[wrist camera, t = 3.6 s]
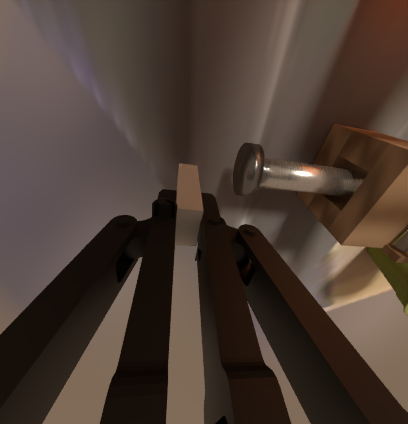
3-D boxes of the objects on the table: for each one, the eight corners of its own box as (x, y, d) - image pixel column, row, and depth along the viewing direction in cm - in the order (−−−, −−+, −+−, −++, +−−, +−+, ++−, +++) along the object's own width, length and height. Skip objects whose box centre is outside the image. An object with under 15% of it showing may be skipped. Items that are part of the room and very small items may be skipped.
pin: (242, 136, 20) (257, 153, 16) (375, 157, 23) (418, 177, 18) (229, 180, 23) (239, 205, 19) (349, 195, 26) (381, 219, 21)
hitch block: (334, 121, 23) (445, 159, 13) (382, 130, 24) (517, 171, 14) (295, 196, 29) (352, 259, 19) (335, 200, 30) (407, 262, 20)
